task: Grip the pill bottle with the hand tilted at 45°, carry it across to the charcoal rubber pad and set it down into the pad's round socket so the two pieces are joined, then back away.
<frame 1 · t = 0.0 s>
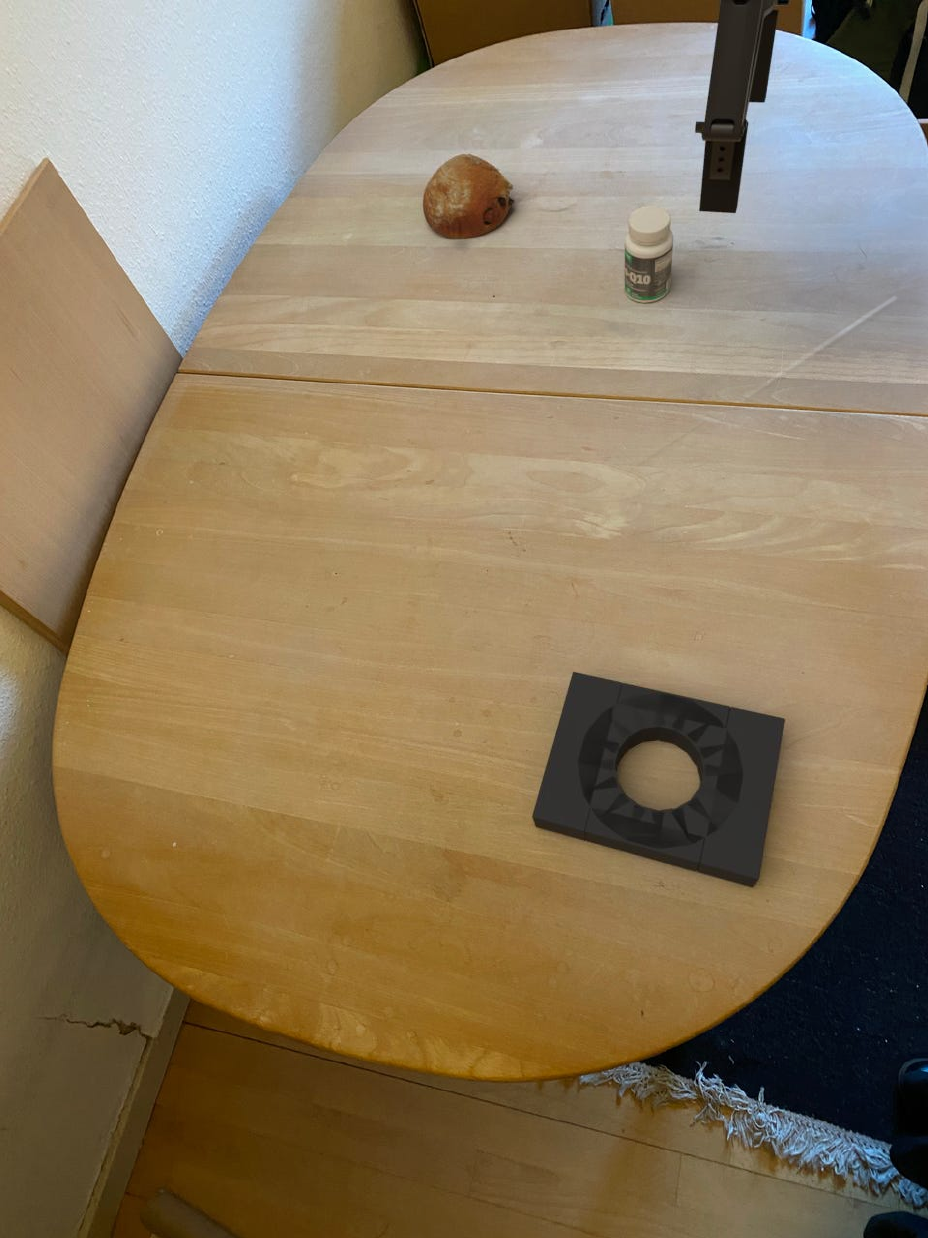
hand: (733, 152, 66), 20 cm above the table, tool pointing down, fingers open, 13 cm apart
back pad: (657, 779, 64), on the table
bread roll: (471, 214, 99), on the table
pill bottle: (647, 289, 88), on the table
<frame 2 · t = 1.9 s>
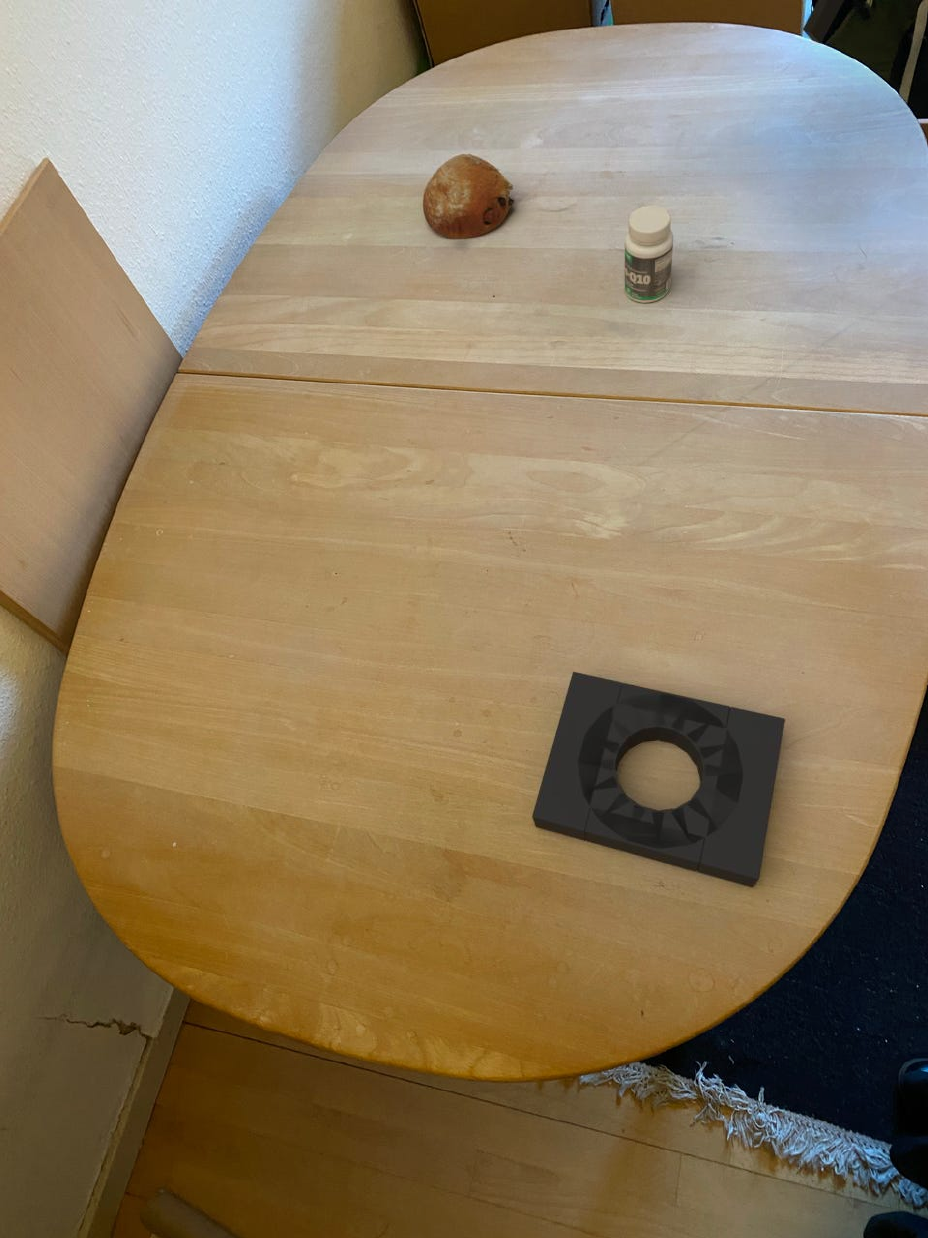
hand: (740, 8, 69), 23 cm above the table, tool tilted 40°, fingers open, 13 cm apart
nothing on the table moved.
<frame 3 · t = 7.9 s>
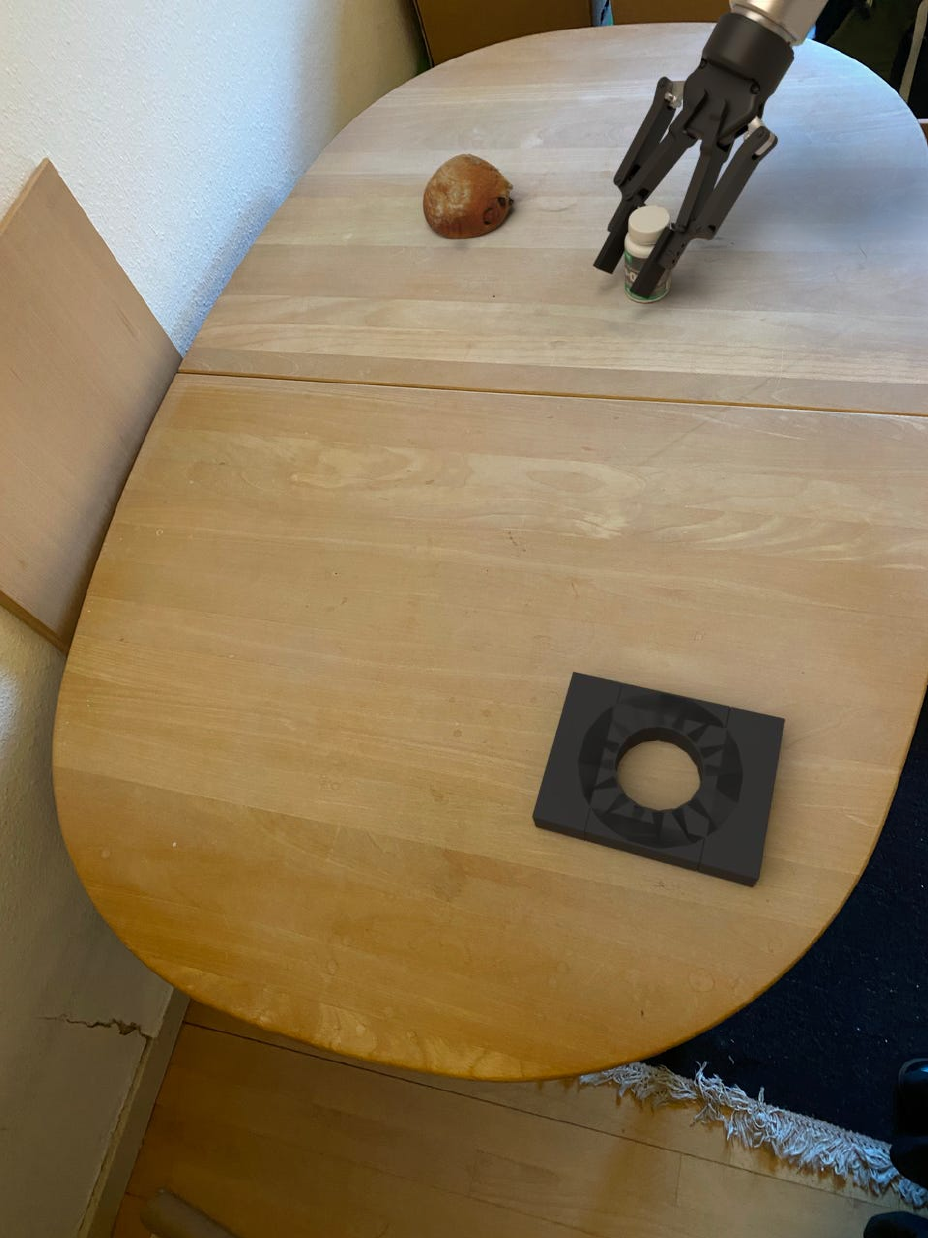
hand: (620, 281, 85), 3 cm above the table, tool tilted 45°, fingers closed on pill bottle, 5 cm apart
pill bottle: (647, 289, 88), on the table, touching gripper
everything else where it was.
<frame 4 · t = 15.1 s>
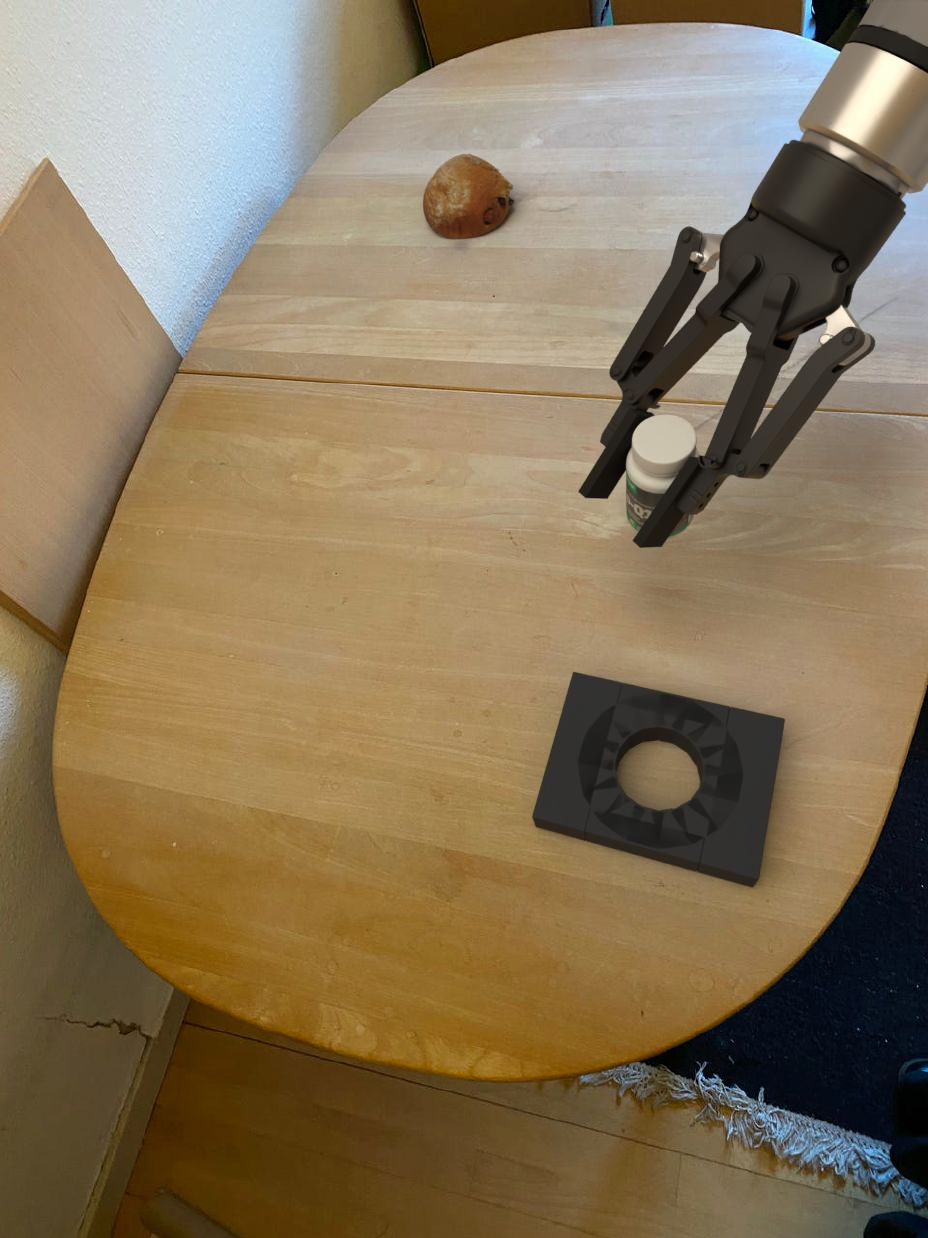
hand: (619, 518, 56), 16 cm above the table, tool tilted 45°, fingers closed on pill bottle, 5 cm apart
pill bottle: (659, 516, 60), point 13 cm above the table, touching gripper
everything else where it was.
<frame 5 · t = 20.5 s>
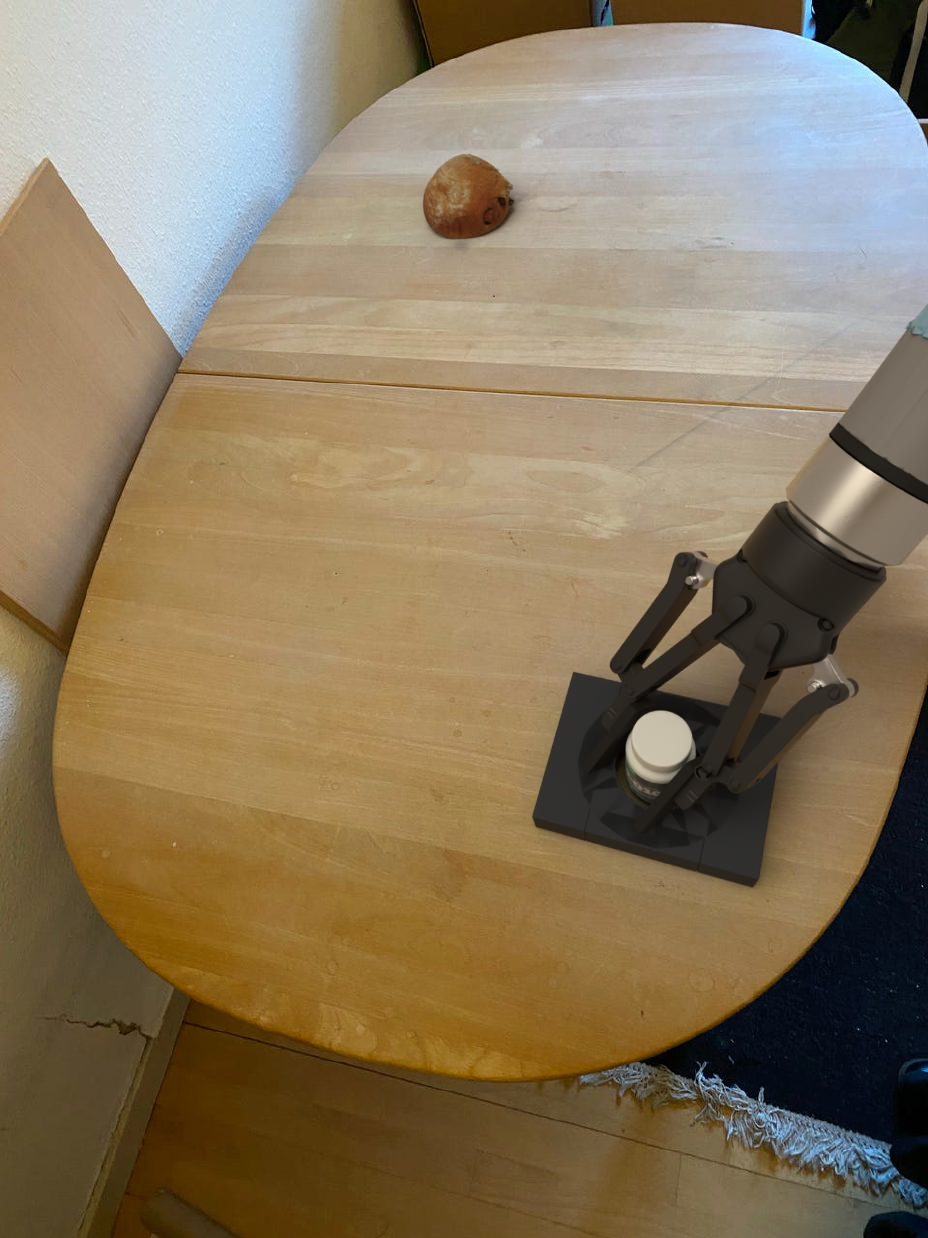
hand: (620, 794, 59), 4 cm above the table, tool tilted 45°, fingers closed on pill bottle, 5 cm apart
pill bottle: (657, 776, 63), point 1 cm above the table, touching gripper
everything else where it was.
when the fingers open (4 cm above the table, at t = 22.4 s): pill bottle drops 1 cm, resting in back pad.
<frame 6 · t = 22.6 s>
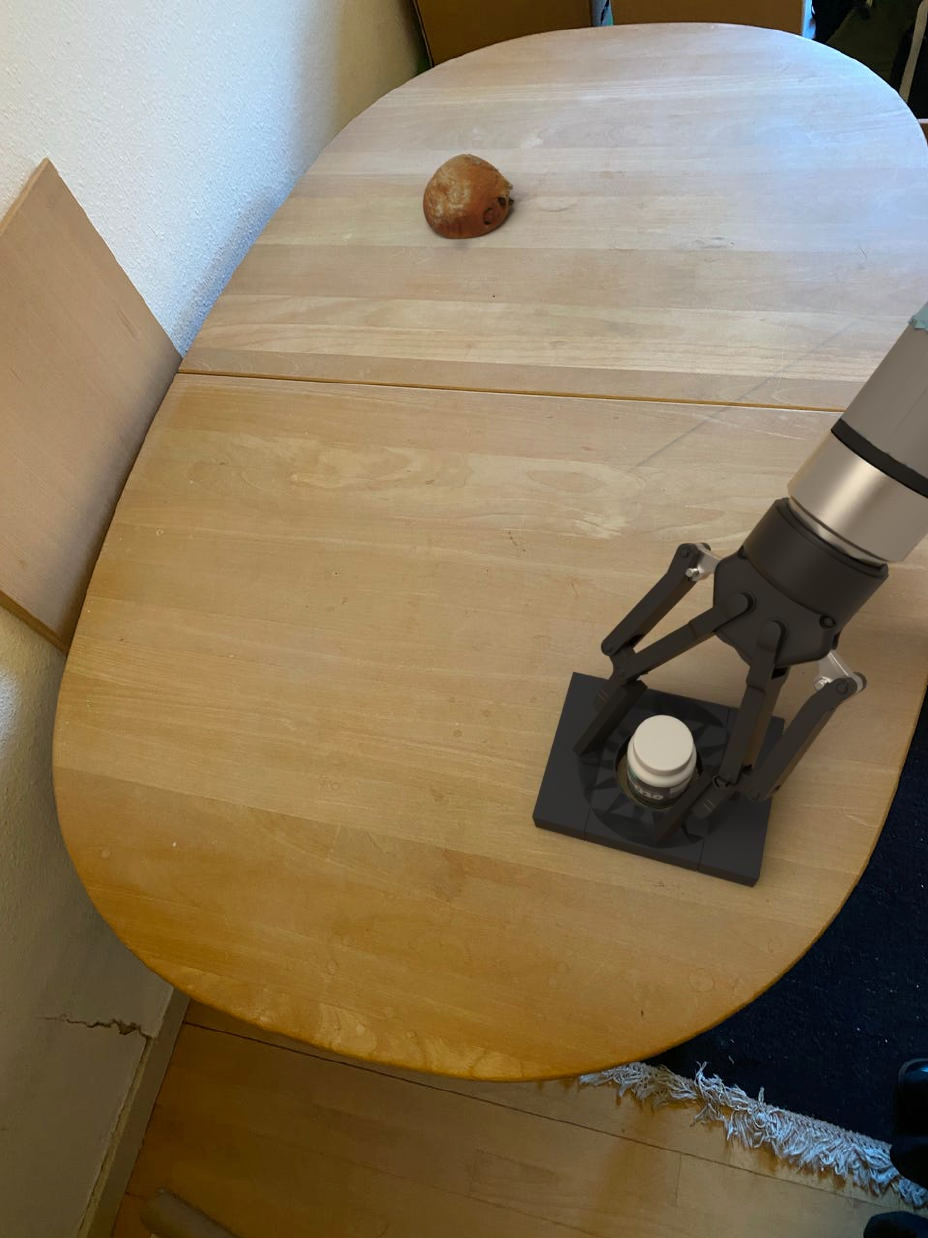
hand: (623, 789, 59), 5 cm above the table, tool tilted 45°, fingers open, 7 cm apart
pill bottle: (657, 779, 64), resting in back pad
everything else where it was.
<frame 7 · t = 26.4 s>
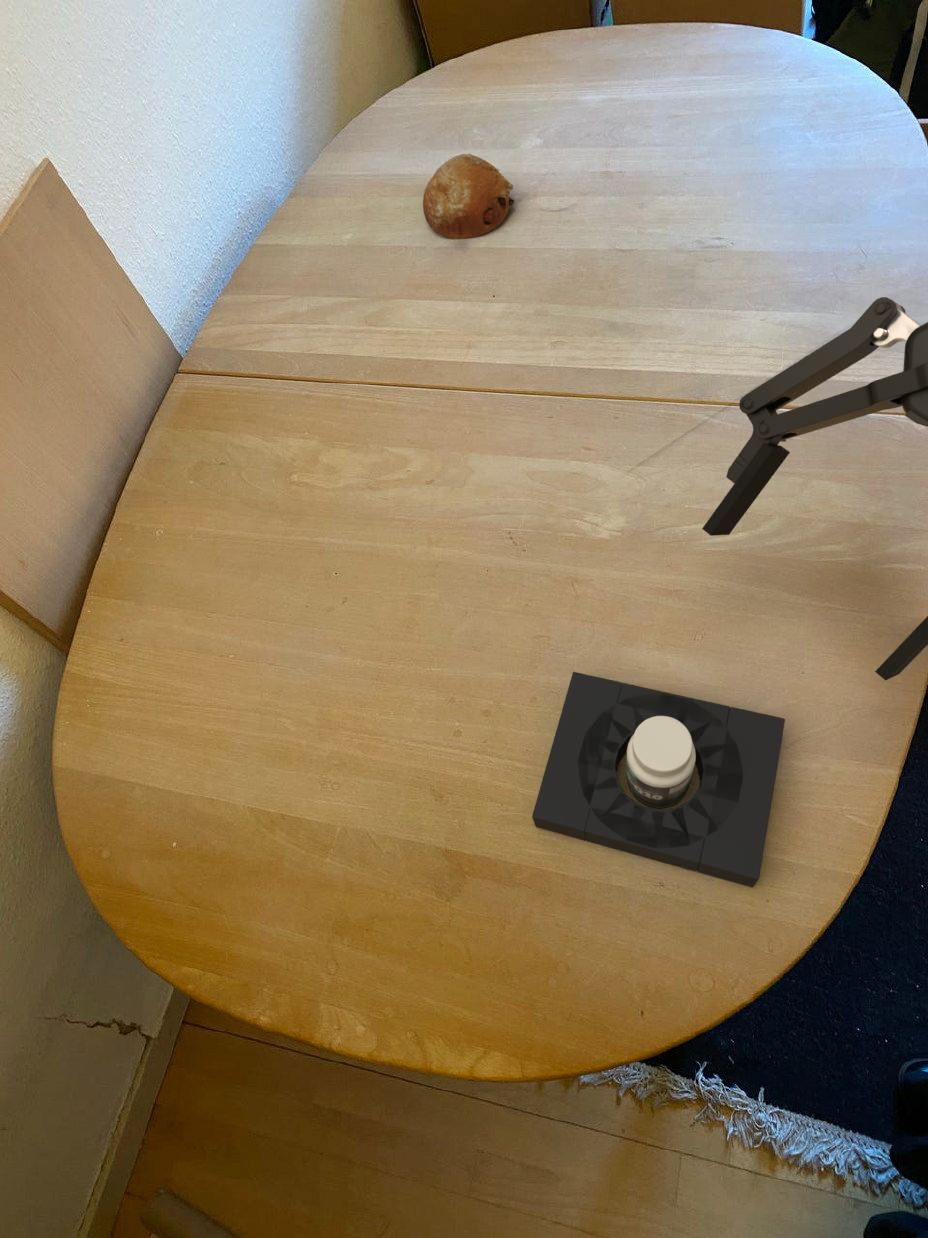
hand: (795, 598, 52), 16 cm above the table, tool tilted 45°, fingers open, 13 cm apart
nothing on the table moved.
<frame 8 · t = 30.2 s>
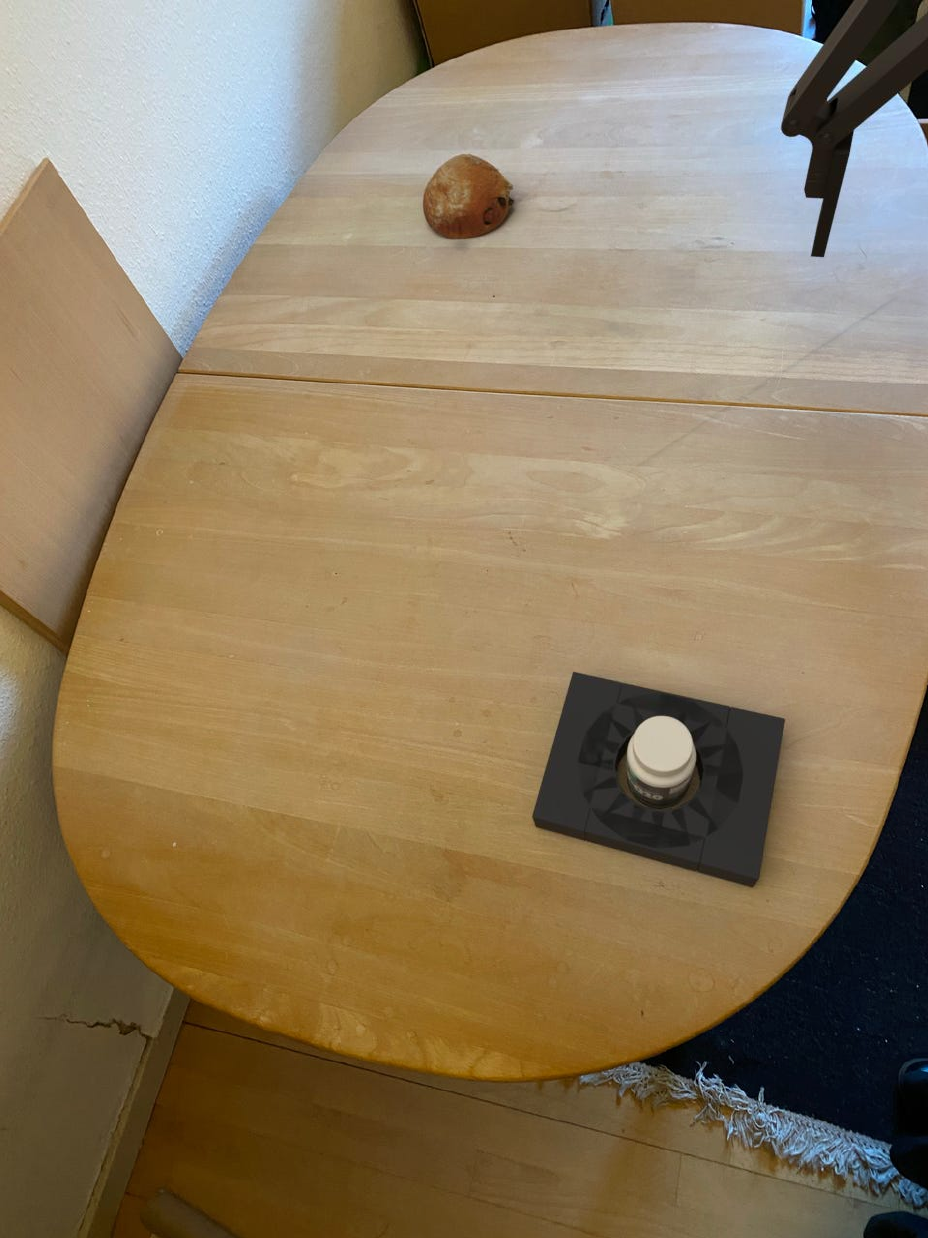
nothing on the table moved.
at the end: pill bottle 0.1 cm off-centre in the back pad, point 0.0 cm above the back pad's base; pill bottle tilted 0°; the gripper is holding nothing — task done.
